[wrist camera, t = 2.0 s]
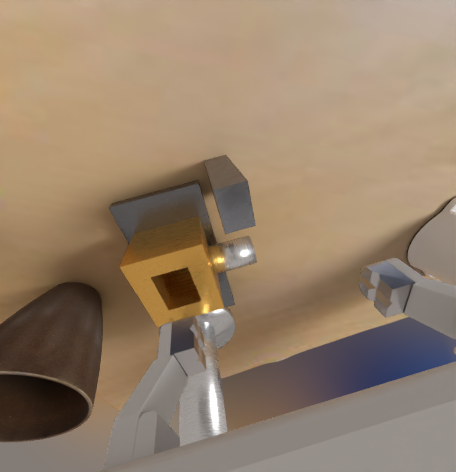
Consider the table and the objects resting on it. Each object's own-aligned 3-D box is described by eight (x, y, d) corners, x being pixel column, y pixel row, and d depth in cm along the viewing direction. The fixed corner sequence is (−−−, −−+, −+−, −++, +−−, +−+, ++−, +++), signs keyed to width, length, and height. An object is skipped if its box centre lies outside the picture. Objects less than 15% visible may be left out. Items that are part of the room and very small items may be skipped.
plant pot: (142, 309, 40) (119, 413, 26) (70, 338, 41) (11, 454, 27) (86, 249, 32) (13, 352, 19) (-2, 286, 33) (-134, 411, 19)
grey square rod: (226, 154, 29) (247, 180, 19) (232, 187, 31) (255, 225, 21) (204, 160, 29) (213, 190, 18) (212, 192, 31) (225, 234, 21)
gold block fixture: (231, 171, 30) (328, 307, 9) (257, 293, 43) (321, 463, 22) (112, 203, 29) (-57, 419, 9) (174, 317, 42) (162, 512, 22)
